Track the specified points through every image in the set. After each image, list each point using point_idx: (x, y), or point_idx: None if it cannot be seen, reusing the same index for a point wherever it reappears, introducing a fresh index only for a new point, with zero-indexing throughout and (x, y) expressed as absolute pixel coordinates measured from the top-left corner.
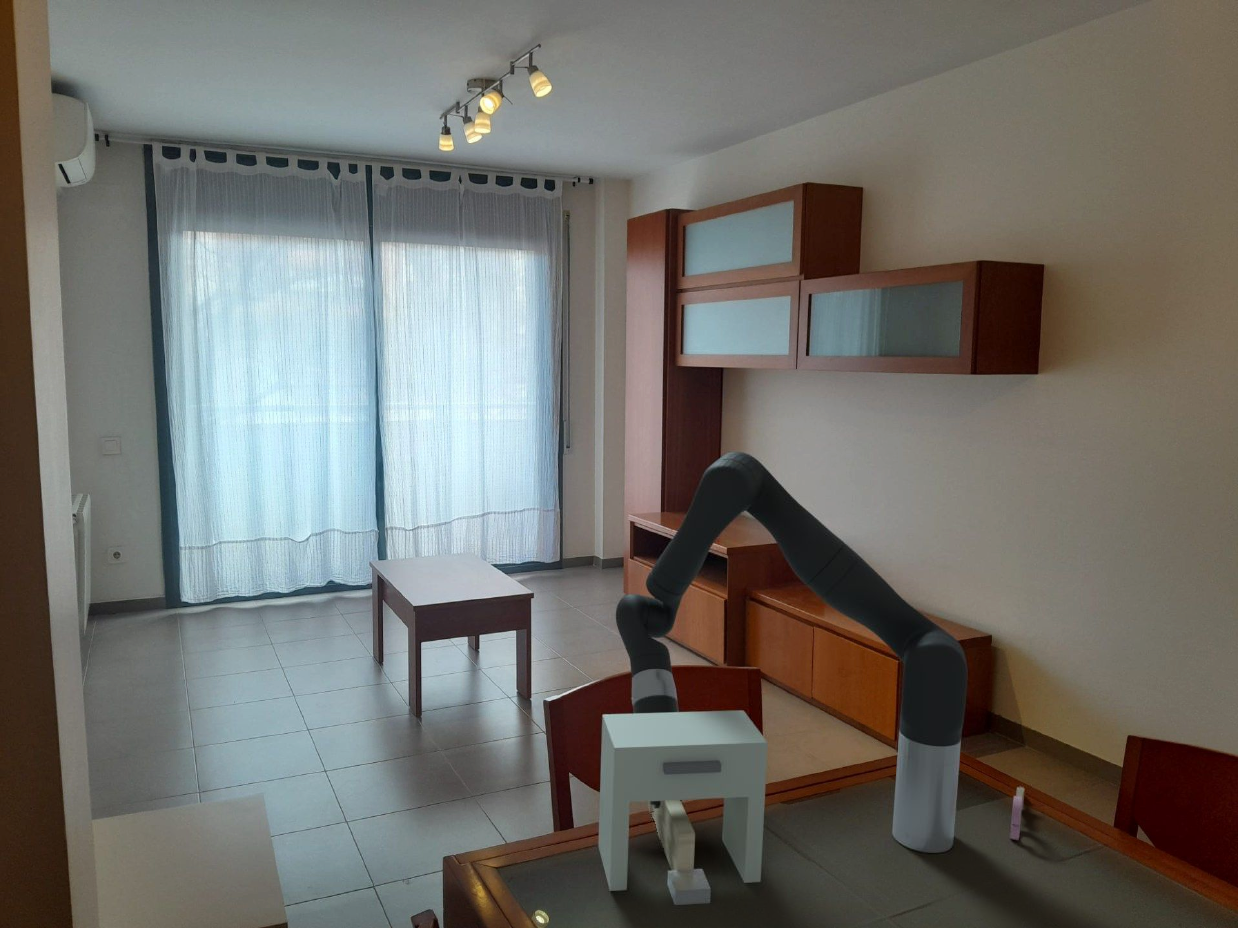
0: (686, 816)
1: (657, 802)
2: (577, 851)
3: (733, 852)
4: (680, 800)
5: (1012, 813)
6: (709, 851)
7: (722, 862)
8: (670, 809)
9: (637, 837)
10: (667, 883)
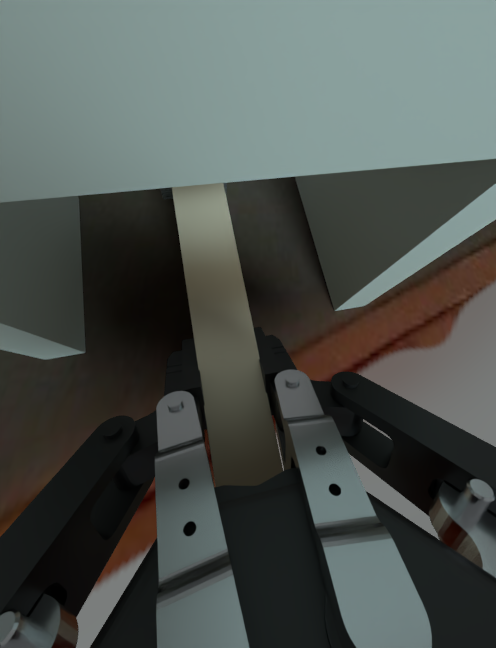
0: None
1: (256, 328)
2: (398, 285)
3: (72, 257)
4: (177, 351)
5: None
6: (128, 300)
7: (107, 261)
8: (220, 203)
9: (288, 347)
10: (226, 191)
